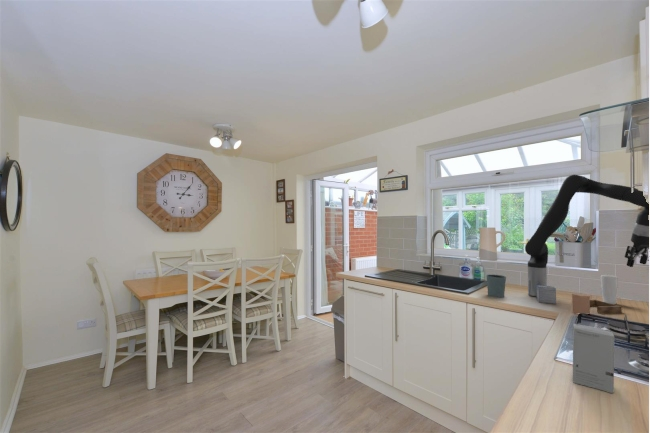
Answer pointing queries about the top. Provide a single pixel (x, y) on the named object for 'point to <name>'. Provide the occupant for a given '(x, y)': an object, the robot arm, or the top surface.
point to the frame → (606, 307)
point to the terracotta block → (580, 303)
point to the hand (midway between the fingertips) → (636, 265)
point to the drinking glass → (609, 288)
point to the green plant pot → (496, 285)
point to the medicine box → (546, 294)
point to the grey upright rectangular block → (593, 357)
